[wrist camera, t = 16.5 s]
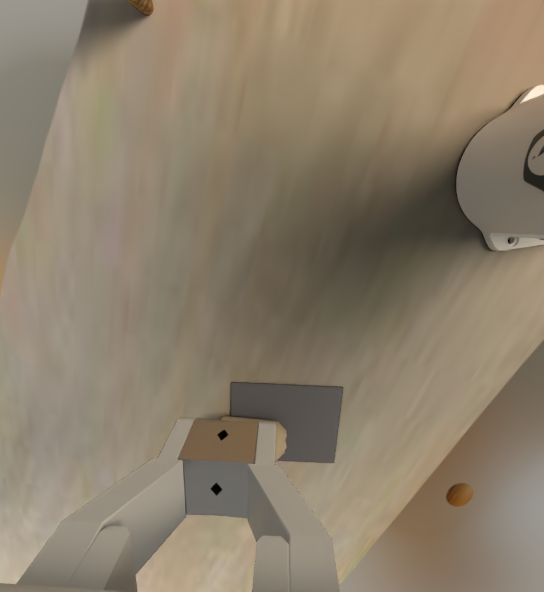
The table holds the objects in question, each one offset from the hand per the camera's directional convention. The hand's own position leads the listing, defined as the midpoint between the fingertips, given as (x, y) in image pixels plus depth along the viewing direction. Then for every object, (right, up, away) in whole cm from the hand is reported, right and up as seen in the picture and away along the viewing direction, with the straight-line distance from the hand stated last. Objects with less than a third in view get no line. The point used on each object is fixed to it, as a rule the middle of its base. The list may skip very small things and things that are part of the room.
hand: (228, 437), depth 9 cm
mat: (+3, -16, +37) cm, 40 cm away
